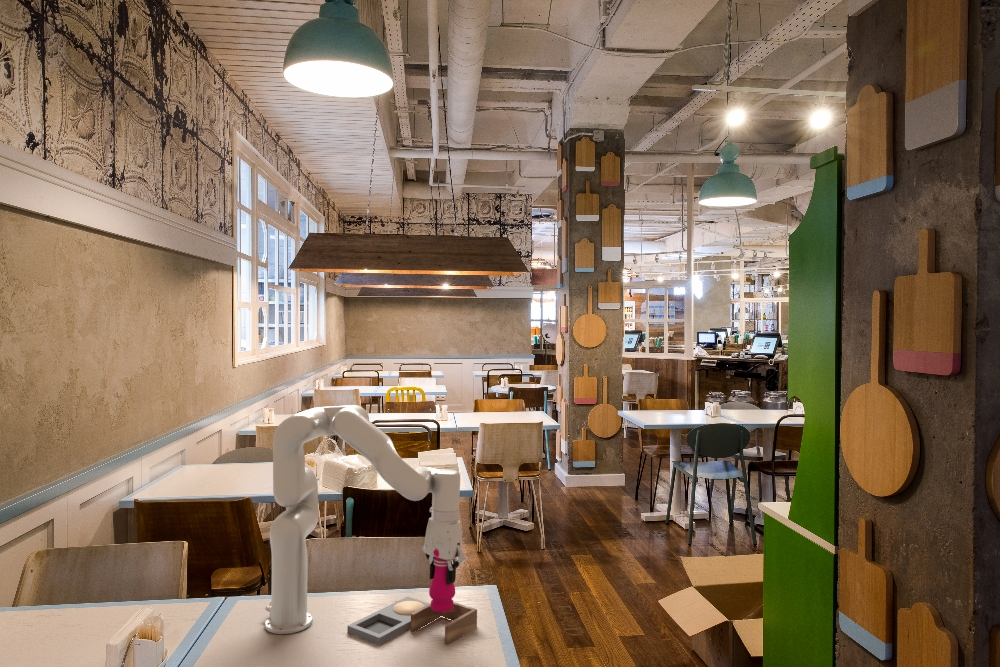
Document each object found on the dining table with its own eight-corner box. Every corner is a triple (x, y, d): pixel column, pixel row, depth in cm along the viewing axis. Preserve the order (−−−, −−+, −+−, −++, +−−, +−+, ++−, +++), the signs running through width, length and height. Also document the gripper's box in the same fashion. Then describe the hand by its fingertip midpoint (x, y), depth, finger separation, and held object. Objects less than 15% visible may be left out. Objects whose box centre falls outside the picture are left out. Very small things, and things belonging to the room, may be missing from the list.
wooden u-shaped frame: (410, 631, 176) (410, 613, 176) (440, 615, 186) (441, 597, 186) (447, 645, 168) (447, 626, 168) (476, 627, 179) (477, 609, 179)
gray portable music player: (347, 632, 175) (347, 624, 175) (407, 603, 194) (407, 595, 194) (379, 645, 168) (379, 636, 168) (437, 613, 188) (438, 605, 188)
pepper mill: (442, 615, 172) (444, 540, 173) (423, 608, 177) (424, 535, 177) (460, 606, 178) (461, 534, 178) (441, 600, 182) (442, 529, 183)
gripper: (412, 511, 179) (410, 576, 179) (461, 524, 170) (458, 592, 170) (430, 506, 185) (427, 569, 185) (478, 518, 176) (475, 584, 176)
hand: (442, 579), depth 178 cm, fingers closed on pepper mill, 5 cm apart
